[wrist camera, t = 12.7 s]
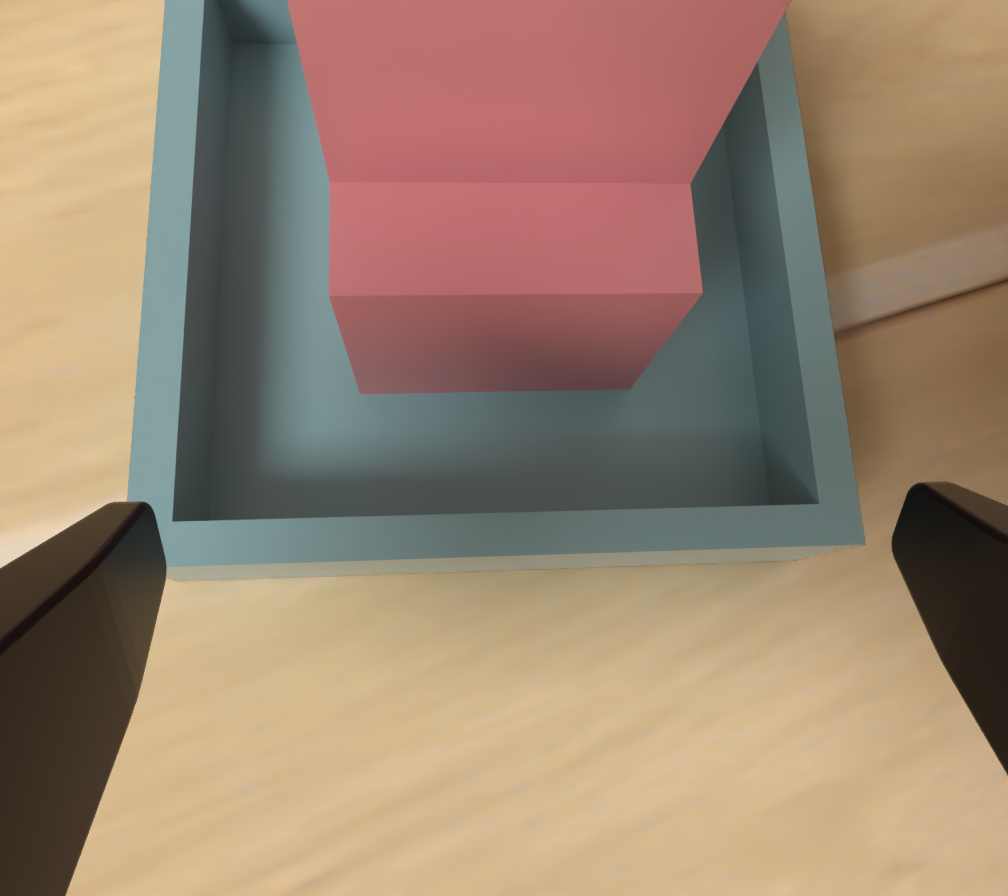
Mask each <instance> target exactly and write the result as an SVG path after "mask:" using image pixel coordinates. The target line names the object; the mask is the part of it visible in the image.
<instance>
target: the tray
mask: <svg viewBox="0 0 1008 896" xmlns="http://www.w3.org/2000/svg"><path fill="white" fill-rule="evenodd" d="M690 186H691V194H692V203H693V211H694V220H695V229H696V237H697V246H698V255H699V263H700V272H701V281H702V289H703V294H702V295H701V296H700V298H699V299H698V300H697V301H696V303H695V304H694V305H693V307H692V308H691V309H690V311H689V312H688V313H687V315H686V316H685V317H684V319H683V320H682V321H681V323H680V324H679V325H678V327H677V328H676V329H675V331H674V332H673V333H672V335H671V336H670V337H669V338H668V340H667V341H666V342H665V344H664V345H663V346H662V348H661V349H660V350H659V352H658V353H657V354H656V356H655V357H654V358H653V360H652V361H651V362H650V364H649V365H648V366H647V368H646V369H645V370H644V372H643V373H642V374H641V375H640V377H639V378H638V379H637V381H636V382H635V383H634V385H633V386H632V387H631V389H617V390H565V391H512V392H459V393H406V394H360V392H359V389H358V386H357V383H356V380H355V376H354V373H353V370H352V367H351V364H350V361H349V358H348V354H347V351H346V348H345V345H344V342H343V339H342V335H341V332H340V329H339V326H338V323H337V320H336V317H335V313H334V310H333V307H332V304H331V301H330V298H329V226H330V180H329V176H328V172H327V168H326V164H325V159H324V155H323V151H322V147H321V142H320V138H319V134H318V130H317V125H316V121H315V117H314V113H313V109H312V104H311V100H310V96H309V92H308V87H307V83H306V79H305V75H304V71H303V66H302V62H301V58H300V54H299V49H298V45H297V41H296V37H295V32H294V28H293V24H292V20H291V16H290V11H289V7H288V3H287V0H165V8H164V21H163V34H162V47H161V61H160V74H159V87H158V100H157V113H156V127H155V140H154V153H153V166H152V179H151V193H150V206H149V219H148V232H147V245H146V258H145V272H144V285H143V298H142V311H141V324H140V338H139V351H138V364H137V377H136V390H135V404H134V417H133V430H132V443H131V456H130V469H129V483H128V496H127V502H136V501H143V502H147V503H148V504H150V505H151V507H152V509H153V510H154V513H155V516H156V521H157V525H158V529H159V533H160V537H161V541H162V545H163V549H164V554H165V558H166V566H167V573H166V579H170V580H174V581H204V580H234V579H263V578H293V577H322V576H352V575H381V574H411V573H441V572H470V571H500V570H529V569H559V568H588V567H618V566H648V565H677V564H707V563H736V562H766V561H795V560H800V559H804V558H809V557H813V556H817V555H822V554H826V553H831V552H835V551H839V550H844V549H848V548H852V547H857V546H861V545H866V544H865V538H864V531H863V525H862V518H861V511H860V505H859V498H858V491H857V485H856V478H855V472H854V465H853V458H852V452H851V445H850V438H849V432H848V425H847V419H846V412H845V405H844V399H843V392H842V385H841V379H840V372H839V366H838V359H837V352H836V346H835V339H834V333H833V326H832V319H831V313H830V306H829V299H828V293H827V286H826V280H825V273H824V266H823V260H822V253H821V246H820V240H819V233H818V227H817V220H816V213H815V207H814V200H813V193H812V187H811V180H810V174H809V167H808V160H807V154H806V147H805V140H804V134H803V127H802V121H801V114H800V107H799V101H798V94H797V88H796V81H795V74H794V68H793V61H792V54H791V48H790V41H789V35H788V28H787V21H786V15H785V12H784V14H783V16H782V18H781V20H780V21H779V23H778V25H777V27H776V29H775V30H774V32H773V34H772V36H771V38H770V40H769V41H768V43H767V45H766V47H765V49H764V50H763V52H762V54H761V56H760V58H759V60H758V61H757V63H756V65H755V67H754V69H753V71H752V72H751V74H750V76H749V78H748V80H747V81H746V83H745V85H744V87H743V89H742V91H741V92H740V94H739V96H738V98H737V100H736V101H735V103H734V105H733V107H732V109H731V111H730V112H729V114H728V116H727V118H726V120H725V122H724V123H723V125H722V127H721V129H720V131H719V132H718V134H717V136H716V138H715V140H714V142H713V143H712V145H711V147H710V149H709V151H708V152H707V154H706V156H705V158H704V160H703V162H702V163H701V165H700V167H699V169H698V171H697V173H696V174H695V176H694V178H693V180H692V182H691V183H690Z"/></svg>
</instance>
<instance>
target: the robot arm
mask: <svg viewBox="0 0 1008 896" xmlns="http://www.w3.org/2000/svg"><path fill="white" fill-rule="evenodd" d="M892 552H893V556H894V559H895V561H896V563H897V565H898V568H899V570H900V572H901V574H902V576H903V579H904V581H905V583H906V585H907V587H908V590H909V592H910V594H911V596H912V598H913V601H914V603H915V605H916V607H917V610H918V612H919V614H920V616H921V618H922V621H923V623H924V625H925V627H926V629H927V632H928V634H929V636H930V638H931V640H932V643H933V645H934V647H935V649H936V651H937V653H938V655H939V657H940V659H941V661H942V663H943V665H944V667H945V668H946V670H947V672H948V674H949V676H950V677H951V679H952V681H953V683H954V684H955V686H956V688H957V690H958V691H959V693H960V695H961V696H962V698H963V700H964V702H965V703H966V705H967V707H968V708H969V710H970V712H971V713H972V715H973V717H974V719H975V720H976V722H977V724H978V725H979V727H980V729H981V731H982V732H983V734H984V736H985V737H986V739H987V741H988V743H989V744H990V746H991V748H992V749H993V751H994V753H995V755H996V756H997V758H998V760H999V761H1000V763H1001V765H1002V766H1003V768H1004V770H1005V772H1006V773H1007V775H1008V506H1006V505H1004V504H1002V503H999V502H997V501H994V500H992V499H990V498H987V497H985V496H982V495H980V494H978V493H975V492H973V491H970V490H968V489H966V488H963V487H961V486H958V485H956V484H954V483H950V482H920V483H917V484H915V485H913V486H912V487H911V488H910V489H909V491H908V493H907V495H906V498H905V501H904V504H903V507H902V510H901V513H900V515H899V518H898V521H897V524H896V527H895V530H894V533H893V536H892ZM166 573H167V566H166V558H165V554H164V549H163V545H162V541H161V537H160V533H159V529H158V525H157V521H156V516H155V513H154V510H153V509H152V507H151V505H150V504H148V503H147V502H143V501H136V502H112V503H109V504H107V505H105V506H103V507H102V508H100V509H98V510H97V511H95V512H93V513H92V514H90V515H88V516H87V517H85V518H83V519H82V520H80V521H78V522H77V523H75V524H73V525H72V526H70V527H68V528H67V529H65V530H63V531H62V532H60V533H58V534H57V535H55V536H53V537H52V538H50V539H48V540H47V541H45V542H43V543H42V544H40V545H38V546H37V547H35V548H33V549H32V550H30V551H28V552H27V553H25V554H23V555H22V556H20V557H18V558H17V559H15V560H13V561H12V562H10V563H8V564H7V565H5V566H4V567H2V568H0V896H66V893H67V890H68V888H69V885H70V882H71V879H72V877H73V874H74V871H75V869H76V866H77V863H78V860H79V858H80V855H81V852H82V850H83V847H84V844H85V841H86V839H87V836H88V833H89V830H90V828H91V825H92V822H93V820H94V817H95V814H96V811H97V809H98V806H99V803H100V801H101V798H102V795H103V792H104V790H105V787H106V784H107V782H108V779H109V776H110V773H111V771H112V768H113V765H114V762H115V760H116V757H117V754H118V752H119V749H120V746H121V743H122V741H123V738H124V735H125V733H126V730H127V727H128V724H129V722H130V719H131V716H132V713H133V710H134V707H135V704H136V701H137V698H138V695H139V691H140V687H141V683H142V679H143V675H144V671H145V667H146V662H147V658H148V654H149V650H150V645H151V641H152V637H153V633H154V628H155V624H156V620H157V615H158V611H159V607H160V603H161V598H162V594H163V590H164V585H165V581H166Z"/></svg>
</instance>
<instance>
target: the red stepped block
mask: <svg viewBox="0 0 1008 896" xmlns="http://www.w3.org/2000/svg"><path fill="white" fill-rule="evenodd" d="M790 1H791V0H287V3H288V7H289V11H290V16H291V20H292V24H293V28H294V32H295V37H296V41H297V45H298V49H299V54H300V58H301V62H302V66H303V71H304V75H305V79H306V83H307V87H308V92H309V96H310V100H311V104H312V109H313V113H314V117H315V121H316V125H317V130H318V134H319V138H320V142H321V147H322V151H323V155H324V159H325V164H326V168H327V172H328V176H329V180H330V226H329V298H330V301H331V304H332V307H333V310H334V313H335V317H336V320H337V323H338V326H339V329H340V332H341V335H342V339H343V342H344V345H345V348H346V351H347V354H348V358H349V361H350V364H351V367H352V370H353V373H354V376H355V380H356V383H357V386H358V389H359V392H360V394H406V393H459V392H512V391H565V390H617V389H631V387H632V386H633V385H634V383H635V382H636V381H637V379H638V378H639V377H640V375H641V374H642V373H643V372H644V370H645V369H646V368H647V366H648V365H649V364H650V362H651V361H652V360H653V358H654V357H655V356H656V354H657V353H658V352H659V350H660V349H661V348H662V346H663V345H664V344H665V342H666V341H667V340H668V338H669V337H670V336H671V335H672V333H673V332H674V331H675V329H676V328H677V327H678V325H679V324H680V323H681V321H682V320H683V319H684V317H685V316H686V315H687V313H688V312H689V311H690V309H691V308H692V307H693V305H694V304H695V303H696V301H697V300H698V299H699V298H700V296H701V295H702V294H703V289H702V281H701V272H700V263H699V255H698V246H697V237H696V229H695V220H694V211H693V203H692V194H691V186H690V183H691V182H692V180H693V178H694V176H695V174H696V173H697V171H698V169H699V167H700V165H701V163H702V162H703V160H704V158H705V156H706V154H707V152H708V151H709V149H710V147H711V145H712V143H713V142H714V140H715V138H716V136H717V134H718V132H719V131H720V129H721V127H722V125H723V123H724V122H725V120H726V118H727V116H728V114H729V112H730V111H731V109H732V107H733V105H734V103H735V101H736V100H737V98H738V96H739V94H740V92H741V91H742V89H743V87H744V85H745V83H746V81H747V80H748V78H749V76H750V74H751V72H752V71H753V69H754V67H755V65H756V63H757V61H758V60H759V58H760V56H761V54H762V52H763V50H764V49H765V47H766V45H767V43H768V41H769V40H770V38H771V36H772V34H773V32H774V30H775V29H776V27H777V25H778V23H779V21H780V20H781V18H782V16H783V14H784V12H785V10H786V9H787V7H788V5H789V3H790Z"/></svg>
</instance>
